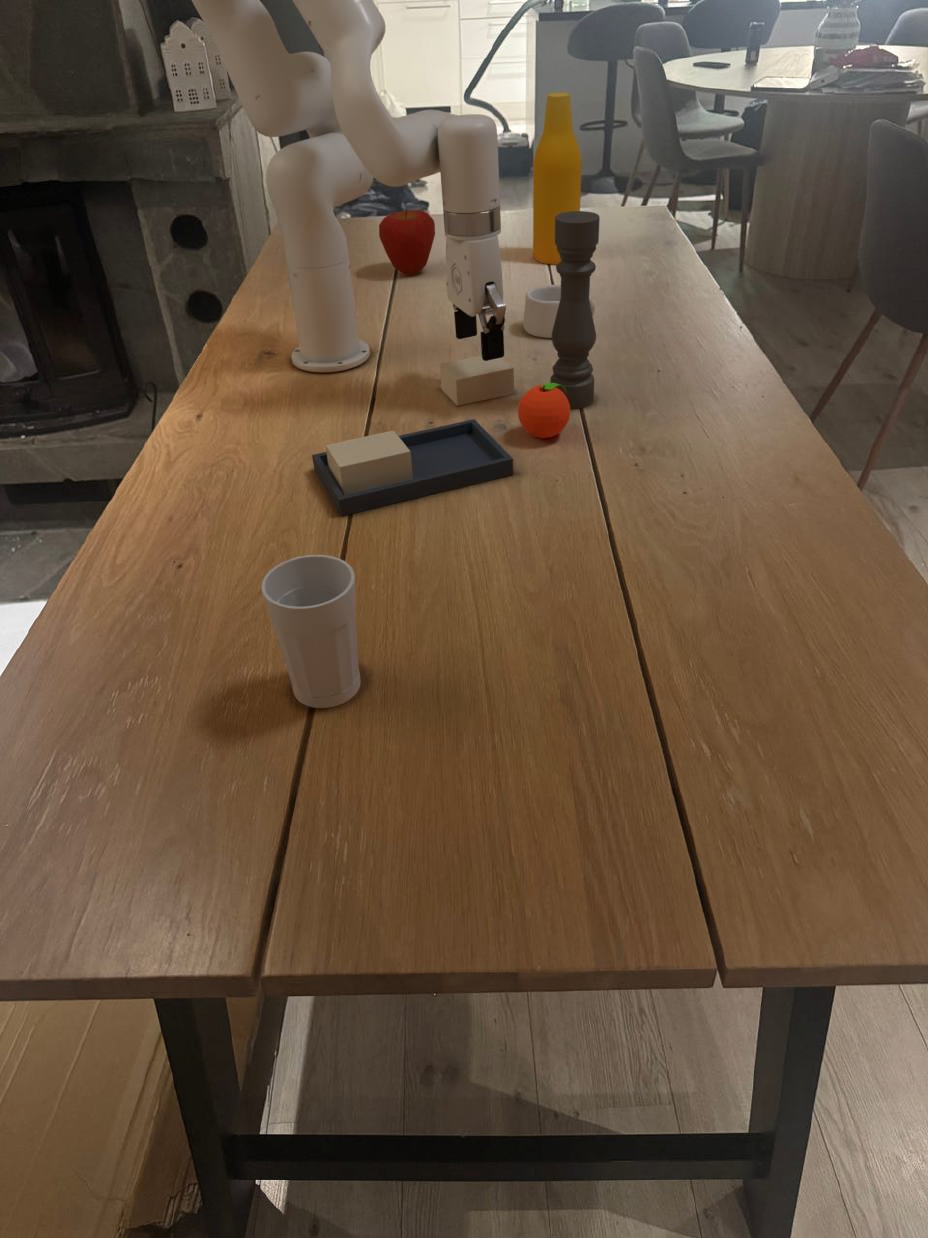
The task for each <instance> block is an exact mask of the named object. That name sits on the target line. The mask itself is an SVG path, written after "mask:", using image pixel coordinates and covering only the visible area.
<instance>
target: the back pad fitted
mask: <svg viewBox="0 0 928 1238" xmlns="http://www.w3.org/2000/svg"><path fill="white" fill-rule="evenodd" d="M399 436H400V435H398V434H397V433H396V432H395V430H388V431H385V432H379V433H375V434H370V435H366V436H361V437H357V438H352V439H347V440H343V441H339V442H334V443H329V444H325V452H327V459H328V465H329V472H330V474H331V476H332V478H333V479H334V481H335V483H336V484H337V486H338V487H339V489H340V491H341V492H342V494H343V496H344V495H348V494H352V493H356V492H361V491H365V490H369V489H373V488H378V487H382V486H386V485H390V484H395V483H399V482H403V481H407V480H412V479H413V475H412V464H411V452H410V450H409V449H408V448H407V446H406V445H405V444H404V443H403V441H402V440H401V439H400V438H399Z"/></svg>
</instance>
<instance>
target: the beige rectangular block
mask: <svg viewBox="0 0 928 1238" xmlns="http://www.w3.org/2000/svg"><path fill="white" fill-rule="evenodd" d="M514 368H515V367H513V366H512V365H511V364H510V363H508V361H506V360H505V359H504V358H503V357H502V358H497V359H493V360H488V361H484V360H483V359H482V355H479V356H478V355H477V356H475V357H474V356H473V357H468V358H464V359H458V360H453V361H448V362H444V363H443V362H442V363H440V364H439V371H440V386H441V387H440V389H441V391H442V392H443V393H444V395H446V396H447V397H448V398H449V399H450V400H451V401H452V402H453V403H454V404H455V405H456V406H457V407H458V406H463V405H468V404H473V403H478V402H482V401H486V400H492V399H496V398H500V397H506V396H510V395H513V394H514V393H515V371H514V370H515V369H514Z"/></svg>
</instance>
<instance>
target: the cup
mask: <svg viewBox="0 0 928 1238" xmlns="http://www.w3.org/2000/svg"><path fill="white" fill-rule="evenodd" d="M261 593H262V595H263V599H264V602H265V605H266V608H267V610H268V614H269V617H270V620H271V622H272V625H273V629H274V632H275V635H276V638H277V639H276V640H277V641H278V644H279V645H278V646H279V647H280V651H281V654H282V657H283V661H284V664H285V666H286V670H287V674H288V677H289V679H290V683H291V687H292V693H293V696H294V697H295V699H296V700H297V701H298V702H299V703H301V704H302V705H304V706H307V707H310V708H315V709H328V708H334V707H337V706H340V705H342V704H345V703H347V702H348V701H350V700H351V699H353V698H354V696H356V694H357V693H358V692H359V690H360V688H361V683H362V682H361V674H360V667H359V653H358V651H359V650H358V633H357V615H356V614H357V613H356V609H357V602H356V601H357V600H356V575H355V571H354V569H353V567H352V566H351V565H350V564H349V563H348V562H347V561H345V560H343V559H341V558H339V557H336V556H333V555H326V554H307V555H306V554H305V555H300V556H296V557H293V558H289V559H287V560H285V561H282V562H281V563H279V564H277V565H276V566H274V567H272V568H271V569H269V571H268V572H267V573H266V574H265V576H264V577H263V579H262V582H261Z"/></svg>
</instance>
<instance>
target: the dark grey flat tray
mask: <svg viewBox="0 0 928 1238" xmlns="http://www.w3.org/2000/svg"><path fill="white" fill-rule="evenodd" d="M398 436H399V438H400V439H401V440H402V441H403V443H404V444H405V445H406V446H407V448H408V449H409V450H410V452H411V464H412V475H413V479H412V480H407V481H403V482H399V483H395V484H390V485H386V486H382V487H378V488H373V489H369V490H365V491H361V492H356V493H352V494H348V495H344V496H343V494H342V492H341V491H340V489H339V487H338V486H337V484H336V483H335V481H334V479H333V478H332V476H331V474H330V472H329V465H328V459H327V452H326V451H323V452H319V453H314V454H312V455H311V458H312V465H313V471H314V473H315V474H316V476H317V478H318V479H319V481H320V483H321V484H322V487H323V488H324V489H325V491H326V493H327V494H328V497H329V498H330V500H331V501H332V503H333V505H334V506H335V508H336V510H337V511H338V513H339V515H340V516H341V517H344V516H348V515H352V514H358V513H361V512H365V511H369V510H373V509H377V508H381V507H385V506H390V505H394V504H398V503H402V502H403V503H404V502H407V501H409V500H416V499H420V498H424V497H428V496H431V495H436V494H440V493H443V492H447V491H452V490H456V489H459V488H460V489H461V488H465V487H468V486H472V485H477V484H481V483H485V482H488V481H493V480H497V479H501V478H506V477H510V476H513V475H514V458H513V456H511V455H510V454H509V452H507V451H506V450H505V449H504V448H503V446H501V445H500V444H499V443H498V441H496V439H495V438H493V437H492V435H491V434H489V432H488V431H486V429H485V428H484V427H482V425H481V424H480V423H479V422H478V421H477V420H476V419H475V418H473V419H469V420H464V421H460V422H454V423H451V424H447V425H442V426H436V427H432V428H428V429H423V430H419V431H414V432H410V433H405V434H402V435H401V434H400V435H398Z"/></svg>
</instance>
